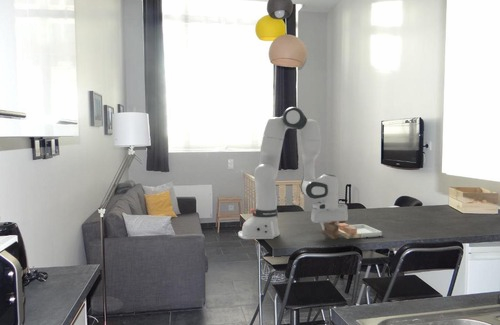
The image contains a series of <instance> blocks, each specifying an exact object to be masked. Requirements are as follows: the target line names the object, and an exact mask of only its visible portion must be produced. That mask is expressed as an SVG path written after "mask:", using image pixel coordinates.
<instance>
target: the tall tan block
mask: <svg viewBox="0 0 500 325" xmlns="http://www.w3.org/2000/svg"><path fill="white" fill-rule="evenodd" d="M323 225H324V226H325V227H326V230H322V226H321V225H320V226H321V227H320V230H321V232H320V233H322V234H323V235H325V236H327V237H329V238H330V239H332V240H339V234H338V229H339V226H338V225H336V224H334V223H332V222H324V224H323Z"/></svg>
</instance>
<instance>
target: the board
mask: <svg viewBox="0 0 500 325" xmlns="http://www.w3.org/2000/svg"><path fill="white" fill-rule="evenodd" d="M339 235H340V236H342V237H343V238H345V239H347V240H348V239H359V238H360V239H362V238H361V233H358V232H357V233H353V234H348V233H346V232H344V230H340V229H338V236H339Z"/></svg>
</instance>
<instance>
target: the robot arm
mask: <svg viewBox="0 0 500 325" xmlns="http://www.w3.org/2000/svg"><path fill="white" fill-rule="evenodd" d="M288 129H294V130H297V131H298V133H299V143H300V144H299V145H300V152H301V158H302V171H303V172H302V174H303V175H302V179H301V182H300V191H301V193H302V194H303V195H304V196H305V197H308V198H310V199H314V200H315V199H321V200H319V201H315V202H313V204H312V209H311V212H310V214H311V215H310V217H311V218H310V220H311V222H312V223H315V224H317V223H319V224H320V226H322V230H326V227H325V226H324V225H323V224H324V222H335V224H336V225H338V224H339V221H348V219H349V216H348V215H349V214H348V205H347V204H346V203H339V195H338V193H339V180H338V177H337V176H336V175H334V174H329V173H323V174H322V175H320V176H319V177H317V178H316V173H315V172H316V170H315V168H316V167H315V166H316V165H315V162H316V160H317V158H318V157H319V155H320V154H321V151H322V134H321V128H320V125H319V122H318V121H317V120H315V119H312V118H310V119H309V118H307V117H306V115H305V114H304V112H303V110H301V109H300V108H299V107H298V106H297V107H296V106H290V107H288V108H286V109H285V110H284V112H283V114H282V115H281V116H280V117H279V116H273V117H270V118H269V119H268V120H267V122H266V124H265V128H264V132H263V135H262V140H261V146H260V149H259V150H260V152H259V153H260V154H259V164H258V166H256V167H255V170H254V172H253V173H254V174H253V176H254V177H253V178H254V187H255V195H256V196H255V198H256V199H255V201H256V203H255V206H256V207H255V208H251V209H250V210H249V211H250V213H252V215H251V217H250V218H248V219H247V220H245V221H244V222H243V224H242V229H241V230H239V231H238V232H237V235H238V237H239V238H240V239H243V240H270V239H271V240H273V239H274V238H277V237H279V236H280V230H279V225H278V217H279V216H278V215H279V214H278V213H279V211H278V208H277V207H278V206H277V204H278V203H277V198H278V197H277V188H276V185H277V184H276V179H277V177H278V173H279V169H280V168H279V167H280V162H281V154H282V150H283V144H284V140H285V134H286V131H288Z"/></svg>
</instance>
